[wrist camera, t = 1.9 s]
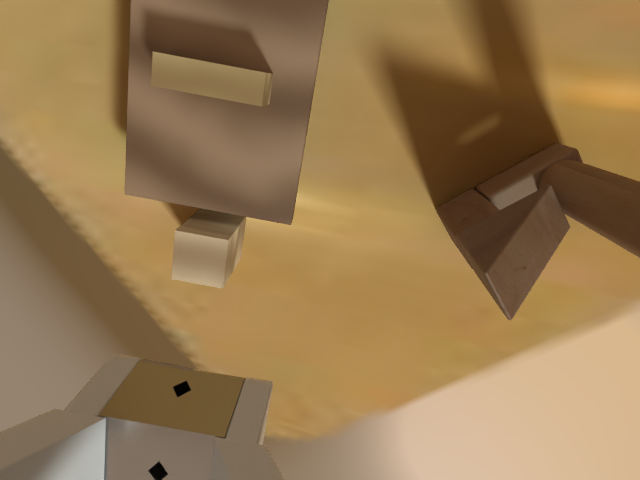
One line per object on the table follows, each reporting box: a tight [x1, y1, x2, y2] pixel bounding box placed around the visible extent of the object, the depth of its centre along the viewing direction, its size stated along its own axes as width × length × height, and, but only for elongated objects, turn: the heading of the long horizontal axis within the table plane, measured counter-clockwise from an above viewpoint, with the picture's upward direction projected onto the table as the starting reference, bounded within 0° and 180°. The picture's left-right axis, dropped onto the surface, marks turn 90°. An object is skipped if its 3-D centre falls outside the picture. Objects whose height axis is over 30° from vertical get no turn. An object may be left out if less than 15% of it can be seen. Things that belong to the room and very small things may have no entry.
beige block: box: [172, 208, 246, 288], centre depth 37 cm, size 4×4×6 cm
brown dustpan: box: [437, 143, 640, 320], centre depth 29 cm, size 4×11×18 cm, turn 121°
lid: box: [125, 0, 329, 225], centre depth 30 cm, size 19×13×4 cm
